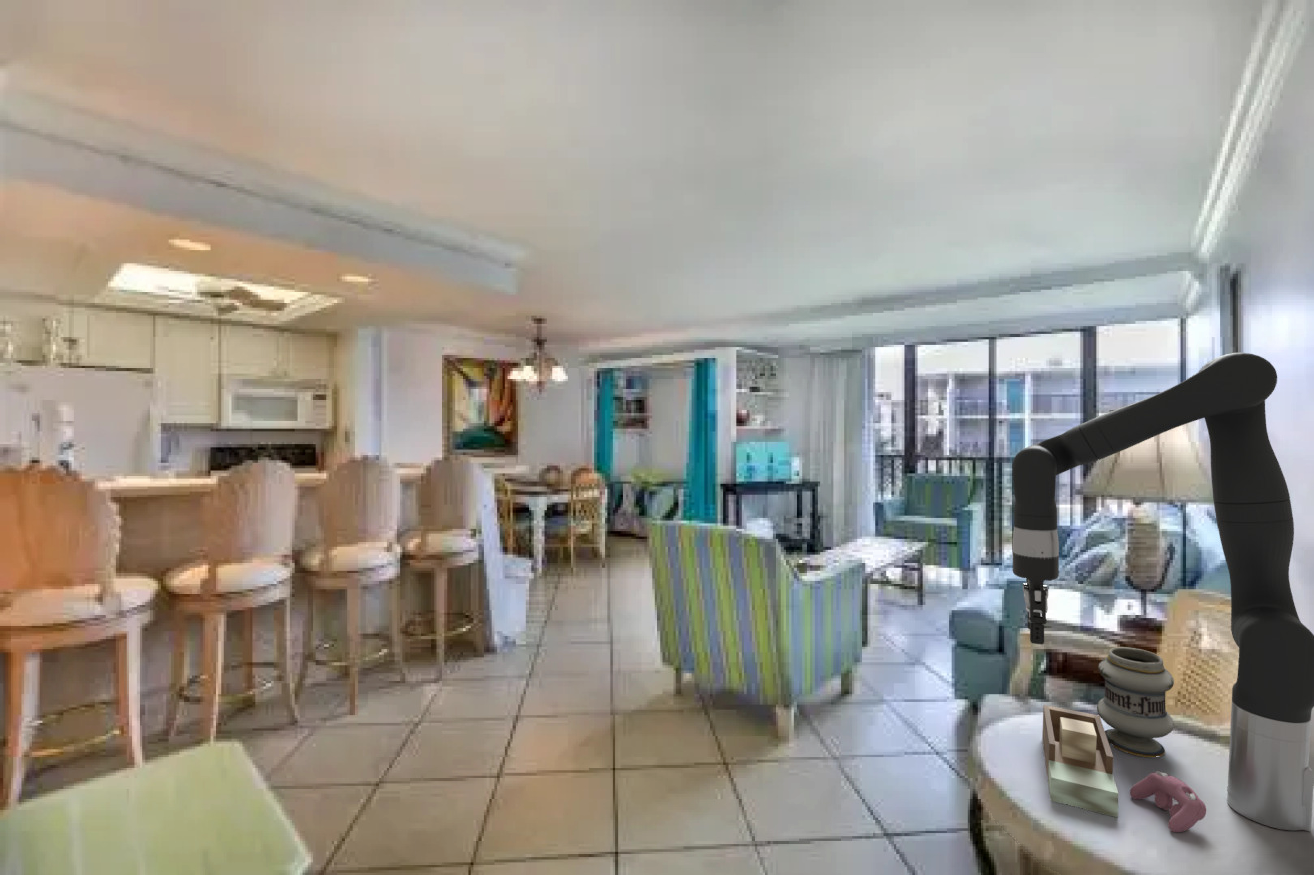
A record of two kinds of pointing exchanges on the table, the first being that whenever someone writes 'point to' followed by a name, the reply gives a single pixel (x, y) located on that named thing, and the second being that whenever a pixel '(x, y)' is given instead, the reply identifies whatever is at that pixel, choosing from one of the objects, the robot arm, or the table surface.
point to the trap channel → (1079, 766)
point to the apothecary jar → (1135, 701)
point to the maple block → (1077, 740)
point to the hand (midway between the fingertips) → (1035, 636)
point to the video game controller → (1171, 799)
